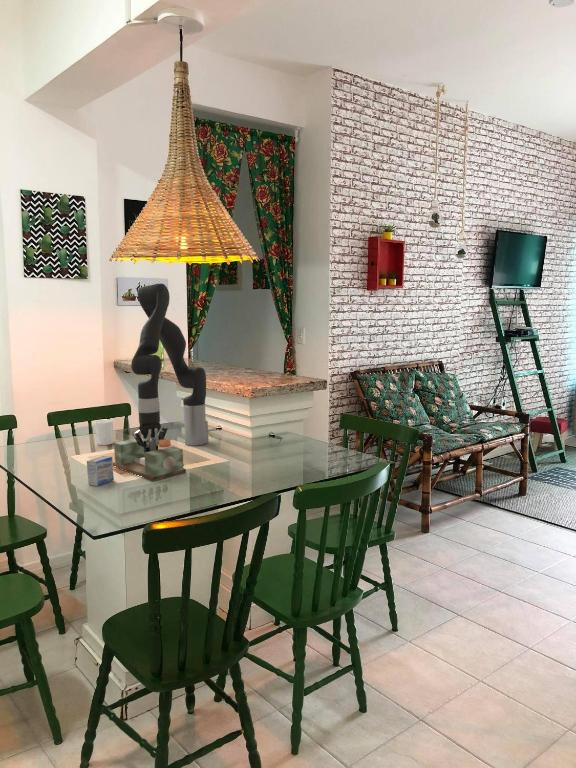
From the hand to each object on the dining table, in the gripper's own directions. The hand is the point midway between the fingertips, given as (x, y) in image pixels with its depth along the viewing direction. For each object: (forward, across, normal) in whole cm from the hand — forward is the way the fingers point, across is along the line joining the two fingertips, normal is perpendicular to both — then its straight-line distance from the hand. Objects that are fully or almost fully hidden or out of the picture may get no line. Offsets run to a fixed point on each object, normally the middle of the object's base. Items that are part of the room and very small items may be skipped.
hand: (151, 456), depth 233 cm
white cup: (+6, -9, -54) cm, 55 cm away
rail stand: (+6, 0, -2) cm, 6 cm away
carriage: (+4, 0, +1) cm, 4 cm away
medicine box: (+6, +20, 0) cm, 21 cm away
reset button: (-5, 0, +9) cm, 11 cm away
